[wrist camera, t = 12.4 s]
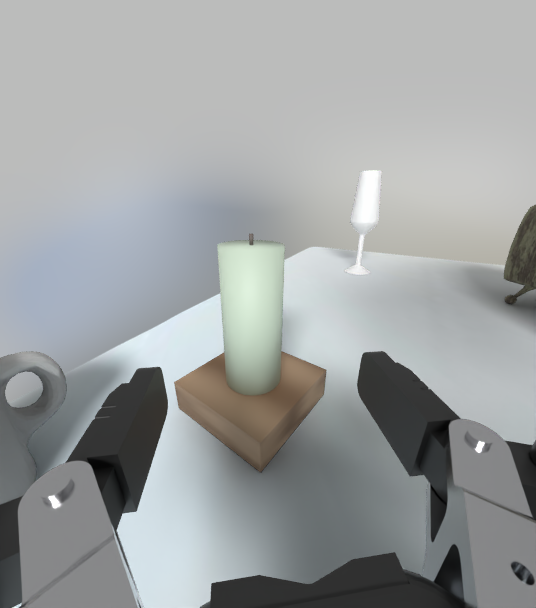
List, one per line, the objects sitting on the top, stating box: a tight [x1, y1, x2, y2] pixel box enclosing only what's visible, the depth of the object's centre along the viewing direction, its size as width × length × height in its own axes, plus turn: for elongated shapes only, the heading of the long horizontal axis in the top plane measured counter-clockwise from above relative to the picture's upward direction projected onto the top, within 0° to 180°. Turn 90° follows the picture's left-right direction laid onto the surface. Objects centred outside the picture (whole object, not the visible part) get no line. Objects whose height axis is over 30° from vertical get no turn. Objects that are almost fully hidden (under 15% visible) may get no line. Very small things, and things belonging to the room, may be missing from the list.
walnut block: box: [174, 351, 326, 473], centre depth 24 cm, size 10×10×3 cm
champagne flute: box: [344, 170, 382, 275], centre depth 64 cm, size 7×7×24 cm
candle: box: [217, 234, 285, 395], centre depth 21 cm, size 5×5×13 cm
